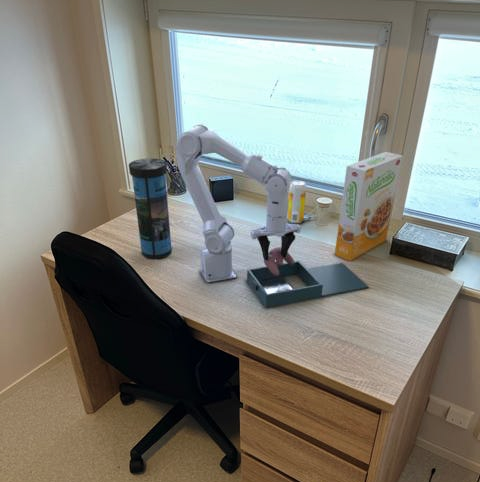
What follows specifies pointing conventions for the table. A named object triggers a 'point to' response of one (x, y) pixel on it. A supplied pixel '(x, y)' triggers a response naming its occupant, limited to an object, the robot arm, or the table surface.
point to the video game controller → (277, 260)
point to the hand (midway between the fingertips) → (274, 257)
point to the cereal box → (367, 204)
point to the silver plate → (275, 285)
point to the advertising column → (152, 207)
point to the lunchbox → (317, 279)
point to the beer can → (296, 201)
